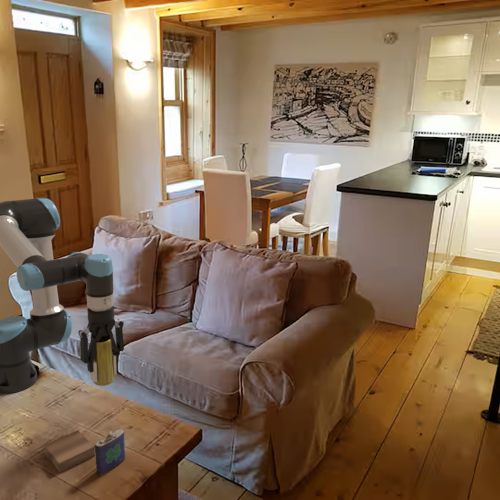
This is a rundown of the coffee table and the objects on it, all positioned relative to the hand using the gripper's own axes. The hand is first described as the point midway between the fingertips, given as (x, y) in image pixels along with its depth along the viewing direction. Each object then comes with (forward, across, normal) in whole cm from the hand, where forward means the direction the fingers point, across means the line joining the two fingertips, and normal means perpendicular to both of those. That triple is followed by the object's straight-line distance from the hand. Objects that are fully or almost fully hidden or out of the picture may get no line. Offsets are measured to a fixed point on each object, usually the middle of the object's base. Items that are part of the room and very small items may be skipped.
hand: (103, 376), depth 146 cm
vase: (+2, 0, 0) cm, 2 cm away
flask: (+16, -8, -19) cm, 26 cm away
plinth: (+16, -15, -7) cm, 23 cm away
